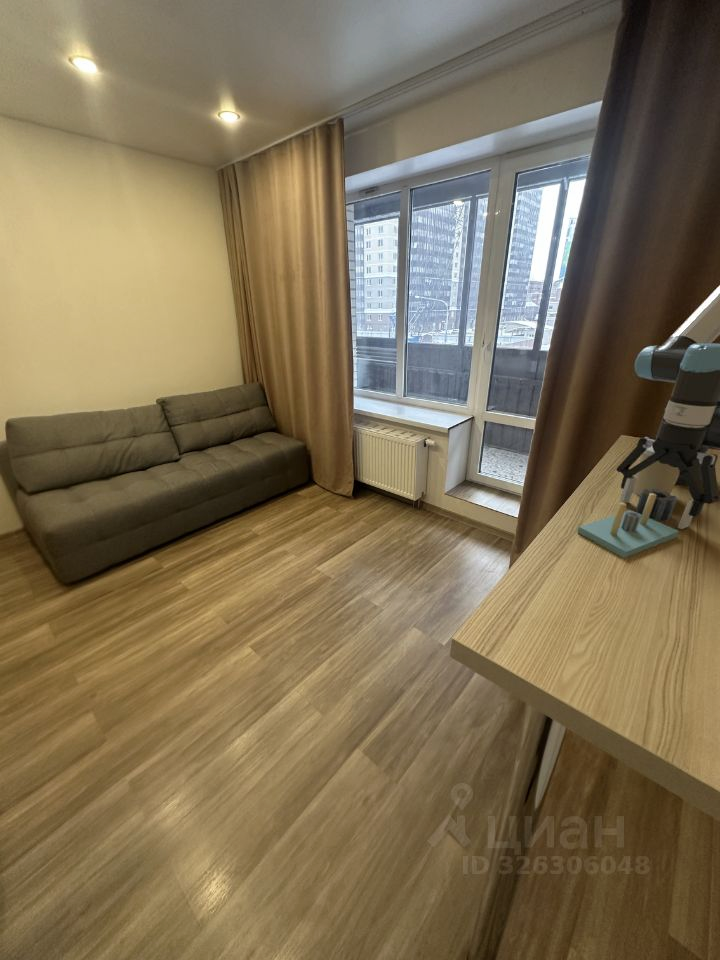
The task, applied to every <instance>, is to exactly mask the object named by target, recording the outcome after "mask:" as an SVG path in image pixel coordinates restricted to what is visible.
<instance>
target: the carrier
mask: <svg viewBox="0 0 720 960" xmlns="http://www.w3.org/2000/svg"><path fill="white" fill-rule="evenodd" d="M656 496H657V495H656V494H653V493H650V494H649V497H648V500H647V502H646V505H645V508H644V511H643V514H639V513H636V511H634V510H631V509H629V510H626V508H627V506H628V505H627V503H619V504H618V507H617V510H616V512H615V514H613V515H610V516H607V517H603V518H600V519H599V520H595V521H592V522H589V523H585V524H583V525H579V526H578V528H577V532H578V533H577V534H579V533H580V534H579V535H581V534H582V535H583V536H582V535H581V536H582V537H584V536H585V538H586V537H587V538H586V539H588V538H589V540H590V539H591V540H590V541H592V540H593V541H595V542H596V544H597V543H598V544H597V545H599V544H600V545H599V546H601V545H602V546H601V547H602V548H604V547H605V549H606V548H607V549H606V550H608V551H610V552H612V553H613V554H616V555H617V556H620V557H621V558H623V559H625V558H629V557H631V556H633V555H636V554H638V553H641V552H643V551H645V549H646V550H649V549H651V548H653V547H652V546H654V547H656V546H658V545H657V544H659V545H661V544H664V543H666V542H668V540H669V541H672V540H673V539H677V537H678V535H679V532H680V530H677V529H676V528H674V527H671V526H668V525H665V524H663V523H661V522H660V521H655V520H653V519H651V518H649V515H650V513H651V510H652V507H653V504H654V501H655V499H656ZM593 541H592V542H593ZM665 541H666V542H665ZM595 542H594V543H595ZM663 542H664V543H663ZM660 543H661V544H660ZM655 545H656V546H655ZM650 547H651V548H650Z"/></svg>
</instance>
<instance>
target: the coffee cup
mask: <svg viewBox="0 0 720 960" xmlns="http://www.w3.org/2000/svg"><path fill="white" fill-rule="evenodd" d="M654 453H655V452H654V450H653V447H652V446H651V447H649V448H647V449H646V451H645V452H644V453H643V454H642V455H641V456H640V457H639V458H638V460H637V461H638V462H637V464H639V463H641V462H642V461H644V460H645V459H647V458H648V457H649V456H651V455H653V454H654ZM679 475H680V471H679V469H678V467H672V466H670V465H668V464H662V463H659V461H657V462H655V463H653V464H652V465H650V466H648V467H647V468H645V469H643V470H642V471H640V472H638V473H637V474H636V475H634V476H635V477H637V480H636V483H635V486H634V489H633V492H632V493H634V494H635V495H638V496H639V497H640V496H641V493H642V491H643V490H645V489H647V490H652V489H656V490H658V491H660V492H668V493H670V494H672V491H673V489H674V487H675V485H676V484H677V483H676V481H677V479H678V477H679Z"/></svg>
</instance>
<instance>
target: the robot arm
mask: <svg viewBox="0 0 720 960" xmlns="http://www.w3.org/2000/svg"><path fill="white" fill-rule="evenodd" d="M719 336H720V284H719V286H717V287H716V289H714V290H713V291H712V292H711V293H710V295H709V296H708V297H707V298H706V299H705V300H704V301H703V302H702V303H701V304H700V305H699V306H698V307H697V308H696V309H695V310H694V312H692V314H691V315H689V316H688V318H686V319H685V321H684V322H683V323H682V324H681V325H680V326H679V327H678V328H677V329H676V330H675V331H674V332H673V333H672V335H670V336H669V338H667V339H666V341H664V342H663V343H662V344H661V345H649V346H647V347H645V348H643V349H642V350H641V351H640V352H639V353H638V355H637V357H636V359H635V362H634V371H635V374H636V375H637V376H638V377H639V378H644V379H647V380H651V381H661V382H667V383H673V384H674V386H673V388H672V391H671V394H670V398H669V400H668V402H667V404H666V407H665V408H664V413H663V416H662V419H661V423H660V425H659V428H658V430H657V434H656V438H655V439H652V438H651V436H645V437H641V438H639V439H638V442H637V444H636V446H635V447H634V449H632V451H631V452H630V453H629V454H628V455H627V457H625V459H624V460H623V461H622V462H621V463H620V464H619V465H618V466H617V467H616V471H617V472H618V473H621V474H622V475H623V478H622V481H621V484H620V489H622V493H621V497H620V498H619V499H620V500H619V503H625V504H627V503H629V502H630V501H631V498H632V495H633V493H634V492H633V489H634V486H635V483H636V480H637V477H635V475H636V474H637V473H638V472H640V471H642V470H643V469H645V468H647V467H648V466H650V465H652V464H653V463H655V462H657V461H659V463H662V464H668V465H670V466H672V467H678V469H679V471H680V475H679V477H678V479H677V481H676V483H675V484H678V485H679V484H680V485H686V486H687V489H688V491H689V493H690V495H691V498H692V499H689V500H687V502H686V503H687V504H686V506H685V508H684V511H683V513H682V516H681V518H680V521H679V523H678V526H677V528H678V529H680V530H683V529H685V528H688V527H689V526H690V524H691V523H692V520H693V518H695V517H697V516H699V515H700V514H701V513H702V509H703V507H704V505H705V504H706V505H707V504H708V505H711V504H714V503H718V502H719V501H720V497H719V495H720V494H719V489H718V481H717V471H716V463H717V461H718V457H719V456H718V455H717V454H716V453H711V454H708V451H709V449H710V448H713V449H717V450H720V343H713V342H714V341H715V340H716V339H717V338H718V337H719ZM651 446H652V447H653V450H654V452H655V453H654V454H653V455H651V456H649V457H648V458H647V459H645V460H644V461H642V462H641V463H639V464H638V463H637V464H635V465H634V463H636V461H638V460H639V457H640V456H641V455H642V454H643V453H644V452H645V451H646V449H647V448H649V447H651ZM633 465H634V466H633ZM632 466H633V467H632Z"/></svg>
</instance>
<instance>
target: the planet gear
mask: <svg viewBox="0 0 720 960" xmlns="http://www.w3.org/2000/svg"><path fill="white" fill-rule="evenodd" d="M650 493H653V494H656V495H657V496H656V499H655V501H654V504H653V507H652V510H651V513H650V515H649V518H650V519H652V520H655V521H657V522H661V521H664V522H667V521H669V520H670V519H671V516H672V513H673V511H674V508H675V505H676V503H677V499H678V498H677V496H676V495H671V493H668V492H660V491H658V490H656V489H652V490H647V489H645V490H643V491H642V493H641V496H639V500H638V503H637V505H636V508H635V512H636V513H639V514H641V515H642V514H643V511H644V508H645V505H646V502H647V500H648V497H649V494H650Z"/></svg>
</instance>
